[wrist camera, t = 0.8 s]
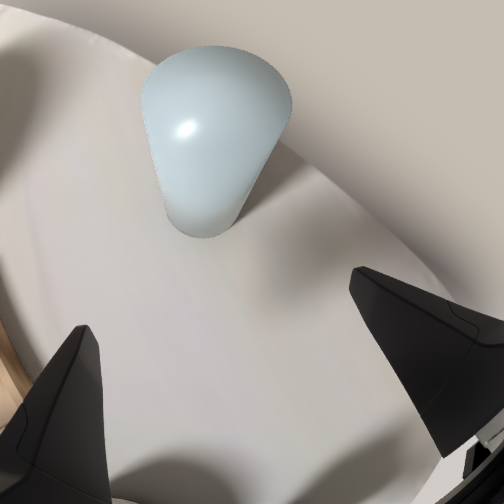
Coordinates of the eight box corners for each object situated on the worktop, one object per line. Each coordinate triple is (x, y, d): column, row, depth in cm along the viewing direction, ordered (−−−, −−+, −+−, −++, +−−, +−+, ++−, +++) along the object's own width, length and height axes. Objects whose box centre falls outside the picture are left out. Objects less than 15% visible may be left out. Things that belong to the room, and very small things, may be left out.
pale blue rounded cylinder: (254, 213, 23) (320, 120, 11) (189, 252, 22) (185, 185, 9) (215, 155, 23) (241, 34, 11) (152, 189, 22) (119, 76, 9)
